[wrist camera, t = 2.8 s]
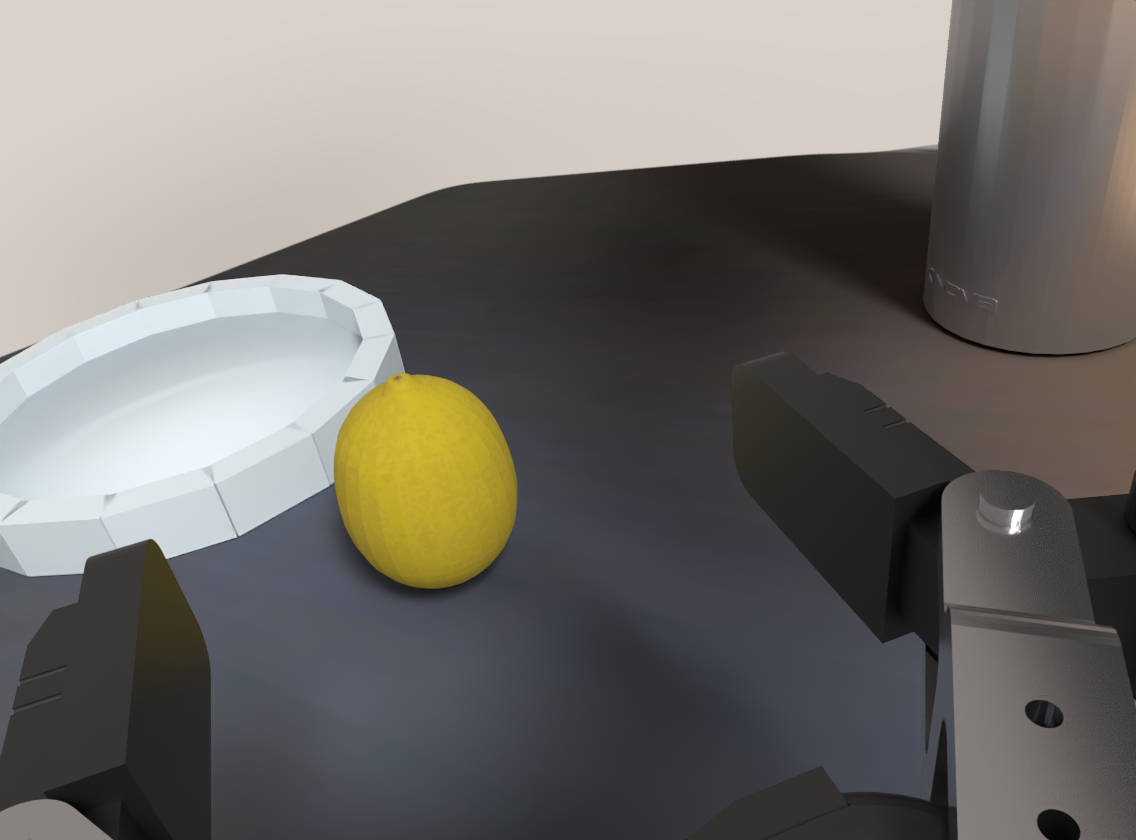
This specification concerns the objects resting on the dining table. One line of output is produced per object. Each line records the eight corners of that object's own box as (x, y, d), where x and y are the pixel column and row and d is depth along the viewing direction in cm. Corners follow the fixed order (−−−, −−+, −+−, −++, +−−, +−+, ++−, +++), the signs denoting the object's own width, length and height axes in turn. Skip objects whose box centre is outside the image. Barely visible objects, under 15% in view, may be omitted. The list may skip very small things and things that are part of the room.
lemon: (355, 562, 32) (286, 367, 27) (499, 505, 33) (456, 313, 29) (397, 667, 27) (324, 457, 23) (561, 596, 29) (522, 387, 25)
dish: (369, 285, 52) (358, 244, 50) (444, 473, 35) (430, 421, 34) (-3, 382, 47) (-26, 340, 46) (-111, 644, 31) (-152, 592, 30)
